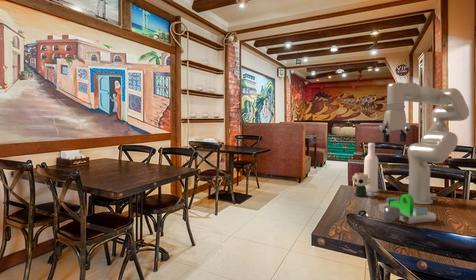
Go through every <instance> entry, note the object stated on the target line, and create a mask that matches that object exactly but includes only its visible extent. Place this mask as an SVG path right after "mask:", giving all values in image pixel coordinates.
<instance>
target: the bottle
mask: <svg viewBox="0 0 476 280" xmlns="http://www.w3.org/2000/svg"><path fill="white" fill-rule="evenodd" d="M367 149H368V150H367V153H368V154H367V155H365V156H364V159H363V160H364V162H363V163H364V165H363V167H364V168H363V173H365V174H368V178H369V179H370V184H367V185H366V186H365V187H366V191H367V193H377V192H378V191H379V158H378V156H377V155H376V153H375V152H376V150H375V149H376V143H375V142H368V143H367Z"/></svg>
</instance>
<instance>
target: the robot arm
mask: <svg viewBox="0 0 476 280" xmlns="http://www.w3.org/2000/svg"><path fill="white" fill-rule="evenodd" d="M405 102H410V103H411V102H412V103H423V104H426V105H427V104H428V105H432V106H437V107H435V108H433V109H432V111H431V113H430V114H431V115H430V116H431V126H430V128H429V129H428V130H426V132H425V133H424V134H423V136H422V137H421V138H420V142H416V143H414V142H413V143H412V144H410V145H409V146H408V147H407V158H408V170H409V171H408V193H407V194H410V195H411V196H412V197H413V199H414V204H417V205H432V204H433V203H434V202H433V201H434V200H433V199H432V198H436V197H437V193H431V191H430V190H431V189H430V188H431V167H430V165H429V164H428V163H434V164H441V163H443V162H445V161H446V159H448V157H450V155H451V154H452V153H453V152H454V150H455V149H456V147H457V145H458V142H459V141H458V136H457V134H456V133H455V132H452V131H450V128H449V126H448V125H447V124H446V122H460V121H461V122H462V121H465V120H467V119H468V118H469V116H470V109H469V107H468V104H467V102H466V100H465V98H464V96H463V94H462V92H461V91H460V90H459V89H458V88H455V87H454V88H452V87H451V88H441V89H438V88H436V87H435V88H434V87H430V86H426V85H425V86H424V85H423V86H420V85H419V84H418V83H416V82H407V83H406V82H405V83H404V82H392V83H391V82H390V83H388V84H387V93H386V110H385V111H384V115H383V122H382V124H380V125H379V130H380V132H381V133H382V135H383V143H390V133H391V132H393V131H394V132H395V131H398V132H400V134H399V142H403V143H405V142H407V134H408V132H409V131H410V128H411V124H409V123H407V115H406V114H407V113H406V110H405V109H406V105H405ZM445 121H446V122H445Z"/></svg>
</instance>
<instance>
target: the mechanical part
mask: <svg viewBox="0 0 476 280" xmlns="http://www.w3.org/2000/svg"><path fill="white" fill-rule="evenodd" d="M390 206H394V207H398V208H399V209H400V210H402V211H404V212H406V213H409V214H413V208H417V207H418V206H416V205H415V203H414V199H413V197H412V196H411V195H410V194H408V193H406V194H404V193H403V194H401V195H400V197H399V201H390Z"/></svg>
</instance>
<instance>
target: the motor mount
mask: <svg viewBox="0 0 476 280" xmlns="http://www.w3.org/2000/svg"><path fill="white" fill-rule="evenodd" d="M390 201H400V197H397V196H395V197H393V196H392V197H386V199H385V203H378V208H377V209H378V211H380V212H382V213H383V221H384V220H386V221H391V222H398V223H399V224H400V221H402V222H404V223H406V224H409V225H410V224H418V223H426V222H427V223H429V222H436V221H437V220H436V218H437V216H436V215H437V214H436V213H434V212H432V211H428V210H429V208H428V207H427V206H419V207H418V206H416V207H417V208H413V214H409V213H406V212H404V211H402V210H400V209H399V208H398V207H394V206H390Z"/></svg>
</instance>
